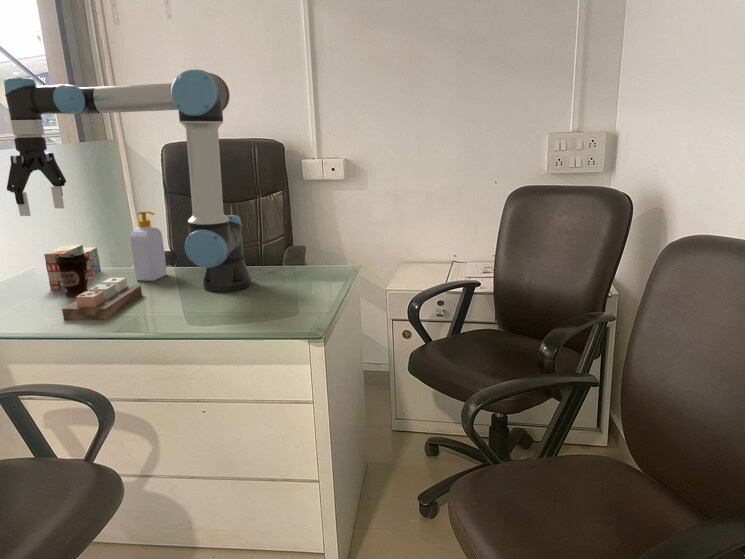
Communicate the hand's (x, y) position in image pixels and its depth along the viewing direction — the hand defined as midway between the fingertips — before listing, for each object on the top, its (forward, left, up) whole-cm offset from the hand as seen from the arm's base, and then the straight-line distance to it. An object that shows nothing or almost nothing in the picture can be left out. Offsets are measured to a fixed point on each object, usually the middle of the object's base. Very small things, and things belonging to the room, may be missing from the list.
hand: (43, 211), depth 162 cm
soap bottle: (-19, -24, -27) cm, 41 cm away
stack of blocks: (+6, -21, -27) cm, 35 cm away
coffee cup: (-3, -5, -27) cm, 28 cm away
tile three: (-18, +14, -24) cm, 33 cm away
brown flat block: (-18, +7, -27) cm, 33 cm away
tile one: (-18, 0, -24) cm, 30 cm away
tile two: (-18, +7, -24) cm, 30 cm away
